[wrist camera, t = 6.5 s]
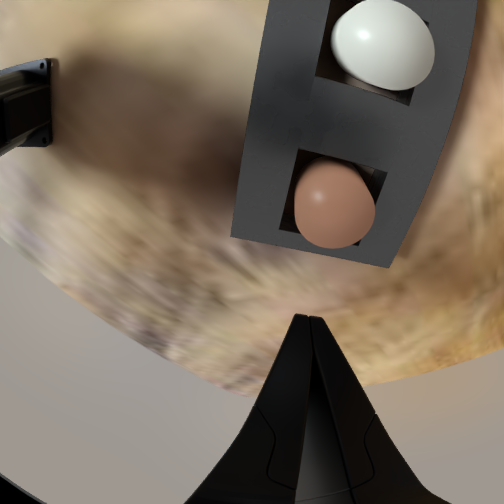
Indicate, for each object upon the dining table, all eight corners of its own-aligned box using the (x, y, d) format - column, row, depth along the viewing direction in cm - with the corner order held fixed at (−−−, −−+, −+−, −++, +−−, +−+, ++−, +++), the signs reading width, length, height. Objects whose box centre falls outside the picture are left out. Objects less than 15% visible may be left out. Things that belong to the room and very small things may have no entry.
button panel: (235, 219, 19) (230, 236, 17) (300, -125, 4) (301, -140, 3) (381, 249, 19) (388, 268, 17) (463, -67, 4) (478, -74, 3)
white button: (322, 69, 12) (331, 72, 9) (337, -1, 9) (349, -15, 7) (398, 94, 12) (422, 104, 9) (414, 26, 9) (441, 22, 7)
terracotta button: (287, 211, 17) (286, 239, 15) (302, 148, 15) (306, 168, 13) (350, 225, 18) (358, 255, 15) (371, 166, 15) (386, 189, 13)
